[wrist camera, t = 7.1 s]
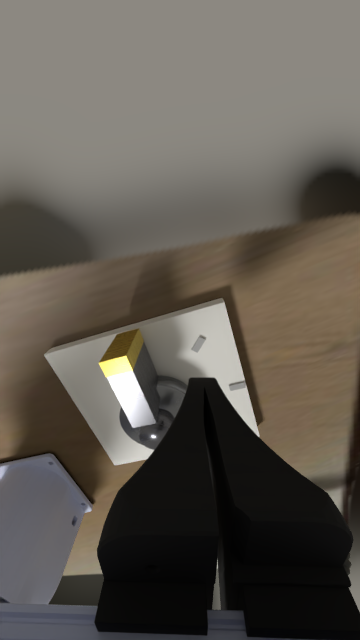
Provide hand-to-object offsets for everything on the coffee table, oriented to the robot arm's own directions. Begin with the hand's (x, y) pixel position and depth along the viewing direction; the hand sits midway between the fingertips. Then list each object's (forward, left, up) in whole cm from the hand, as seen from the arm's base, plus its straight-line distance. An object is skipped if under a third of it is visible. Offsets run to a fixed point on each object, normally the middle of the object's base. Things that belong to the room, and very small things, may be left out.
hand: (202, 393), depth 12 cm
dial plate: (-4, +4, -6) cm, 8 cm away
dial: (-2, +4, -5) cm, 7 cm away
